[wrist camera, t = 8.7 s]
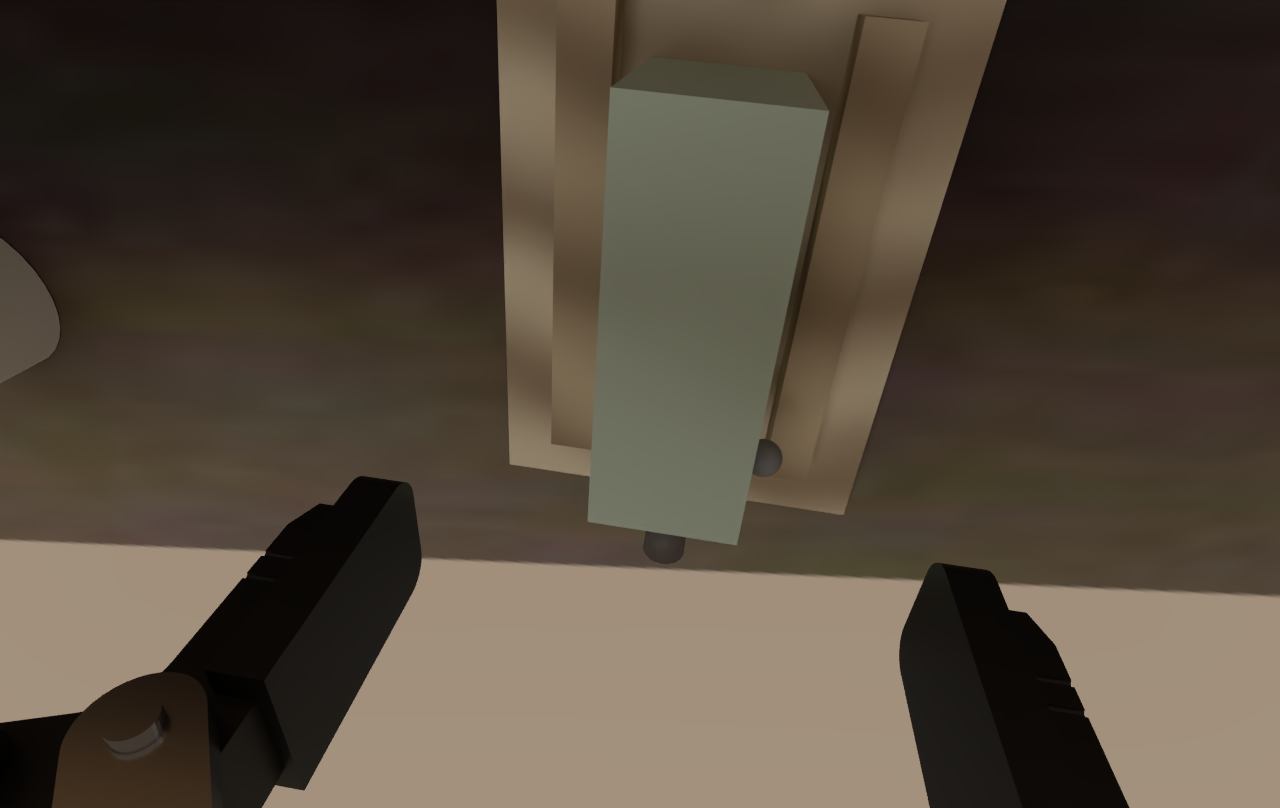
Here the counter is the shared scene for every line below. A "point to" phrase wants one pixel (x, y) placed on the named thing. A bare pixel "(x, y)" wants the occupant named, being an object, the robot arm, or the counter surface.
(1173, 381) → the counter surface
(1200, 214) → the counter surface
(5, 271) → the cylindrical container
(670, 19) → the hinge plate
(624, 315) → the rectangular block
